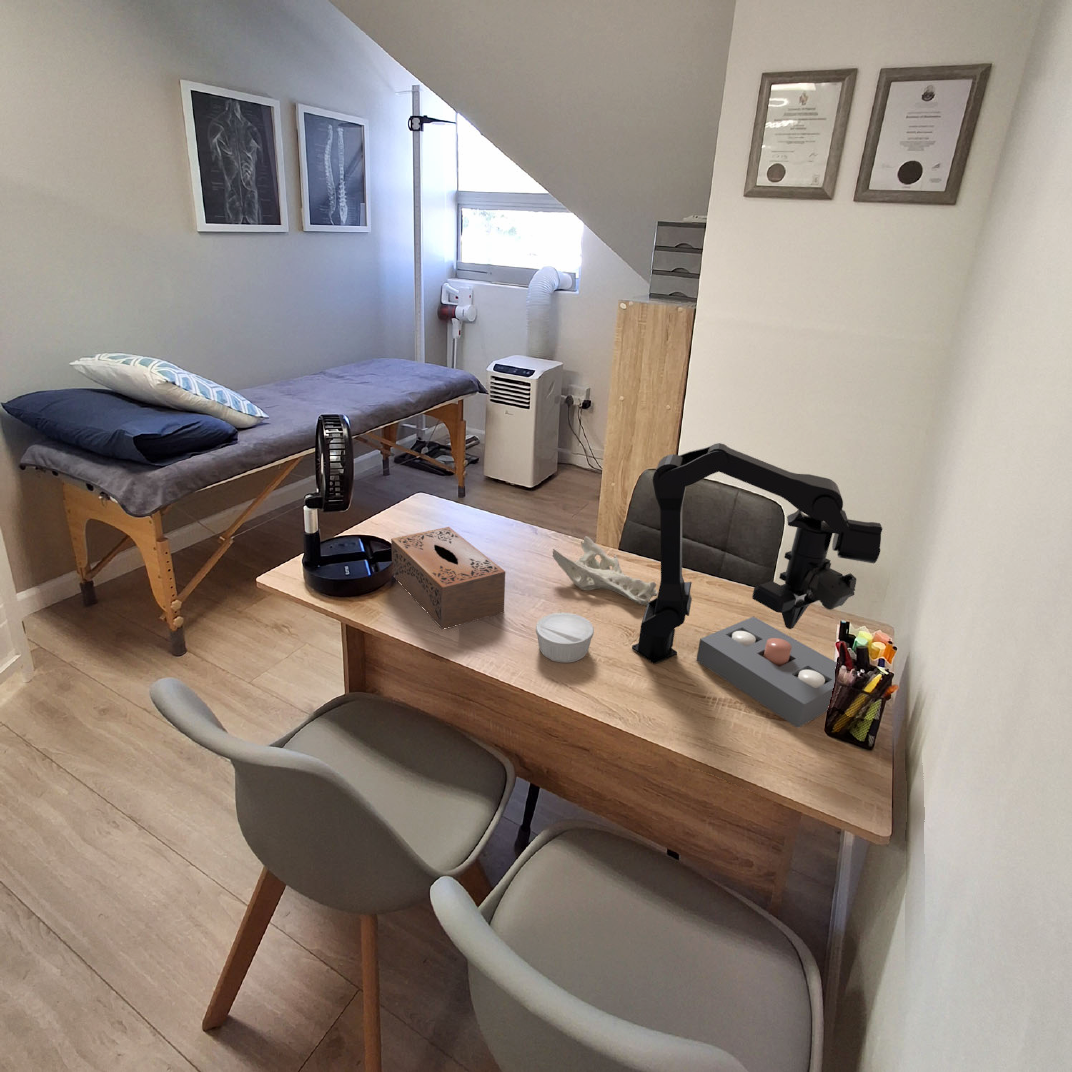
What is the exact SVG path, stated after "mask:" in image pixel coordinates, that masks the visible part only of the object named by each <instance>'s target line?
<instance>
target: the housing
mask: <svg viewBox="0 0 1072 1072" xmlns="http://www.w3.org/2000/svg"><path fill="white" fill-rule="evenodd" d="M736 631H745V632H748V633H751V634H752V635H754V636H755V638H756V641H755V643H753V644H751V645H749V646H747V647H745V646H744V645H742V644H741V643H739V642H737V641H736V640H734V639H732V634H733V633H734V632H736ZM770 638H779V639H783V640H785V641H787V642H789V643H790V644H791V646H792V648H791V653H790V657H789V661H788V663H786V664H784V665H782V666H780V667H779V666H777V665H775V664H774V663H772V662H770V661H769V660H767V659H765V658H764V657H763V656H762V655H764V652H765V647H766V643H767V640H768V639H770ZM696 662H698V663H699V664H701V665H702V666H703V667H705V668H707V669H708V670H710V671H712V672H713V673H714V674H715V675H718V676H719V677H721V678H722V679H723V680H724V681H727V683H730V684H731V685H733V686H734V687H735V688H737V689H738V690H740V691H741V692H743V693H744V694H745V695H748V696H749V697H750V698H751V699H753V700H755V701H757V703H759V704H761V705H762V706H764V707H765V708H767V709H768V710H770V711H771V712H773V713H775V714H776V715H777V716H779V717H780V718H782V719H783V720H785V721H786V722H788V723H790V724H791V725H793V726H794V727H796V728H797V729H799V728H801V727H803V726H804V725H806V724H807V723H808V724H809V723H810V722H811V721H812V720H815V719H816V718H819V716H821V715H823V714H825V713H826V712H828V711H827V709H828V706H829V704H830V699H831V697H832V691H833V688H834V682H835V667H836V663H838V662H836V661H835V660H833V659H831V658H829V657H828V656H826V655H824V654H823V653H820V652H819V651H817V650H815V649H813V648H811V647H810V646H808V645H806V644H804V643H802V642H800V641H799V640H797V639H795V638H793V637H792V636H790V635H788V634H786V633H784V632H782V631H781V630H779V629H777V628H775V627H774V626H772V625H770V624H769V623H766V622H764V621H763V620H761V619H759V618H757V617H755V616H752V617H749V618H746V619H744V620H742V621H739V622H737V623H735V624H732V625H730V626H728V627H725V628H722V629H720V630H718V631H715V632H713V633H711V634H709V635H705V636H704V637H702V638H700V639H699V643H698V648H697V655H696ZM802 670H813V671H816V672H818V673H820V674H821V675H822V676H823V677H824V678H825V683H824V685H822V686H820V687H819V688H817V689H815V688H814V687H812V686H810V685H809V684H807V683H805V682H804V681H802V680H800V679H799V678H798V675H799V672H800V671H802Z"/></svg>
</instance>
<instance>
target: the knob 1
mask: <svg viewBox="0 0 1072 1072" xmlns="http://www.w3.org/2000/svg"><path fill="white" fill-rule="evenodd" d="M732 639H734V640H736V641H737V642H739V643H741V644H742V645H744V646H745V647H747V646H749V645H751V644H753V643H755V641H756V638H755V636H754V635H752V634H751V633H748V632H745V631H736V632H734V633H733V634H732Z"/></svg>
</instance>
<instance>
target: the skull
mask: <svg viewBox="0 0 1072 1072" xmlns="http://www.w3.org/2000/svg"><path fill="white" fill-rule="evenodd" d="M580 546H581V548H582V550H583V552H584V554H583V556H580V557H579V559H576V560H575V561H573V560H572V559H570V558H568V557H566V556H564V555H563V554H562V553H560V552H559V551H558V550H557V549H555V548H552V557H553V559H554V561H556V563H557V565H558V567H560V568H561V570H563V572H564V573H565V574H566V576H567V577H568V578H569V579H570V580H571V581H572V582H573V584H574V585H575V586H576V587H578V588H579V589H581V590H582V591H593V590H595V589H605V590H609V591H612V592H615V593H617V594H619V595H621V596H623V597H626V598H627V599H629V600H631V601H633V602H635V603H637V604H639V605H644V606H645V607H646V606H647V603H648V602H650V601H651V599H652V598H653V597H657V596H658V592H659V591H657V588H656V587H657V583H656V582H655V581H649V582H645V581H644V580H642V579H640V578H633V577H631V576H628V575H626V574H625V573H624V572H623V570H622V569H621V566H620V562H619V559H618V556H617V555H616V554H613V555H614V557H610V556H608V555H607V554H606V552H605V550H604V549H603V548H602V547H600V546H599V545H598V544H596V543H595V542H594V541H593V540H592V539H591V538H590V536H586V535H585V536H584V538H583V540H581V542H580ZM597 556H599V558H600V562H599V561H598V560H597V559H596V557H597ZM611 568H612V569H611Z"/></svg>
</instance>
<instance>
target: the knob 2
mask: <svg viewBox="0 0 1072 1072" xmlns="http://www.w3.org/2000/svg"><path fill="white" fill-rule="evenodd" d="M797 678H799V679H800V680H802V681H804V682H805V683H807V684H809V685H810V686H812V687H814V688H815V689H817V688H819V687H820V686H822V685H824V683H825V678H824V677H823V676H822V675H821V674H820V673H818V672H816V671H813V670H802V671H800V672H799V674H797Z"/></svg>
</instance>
